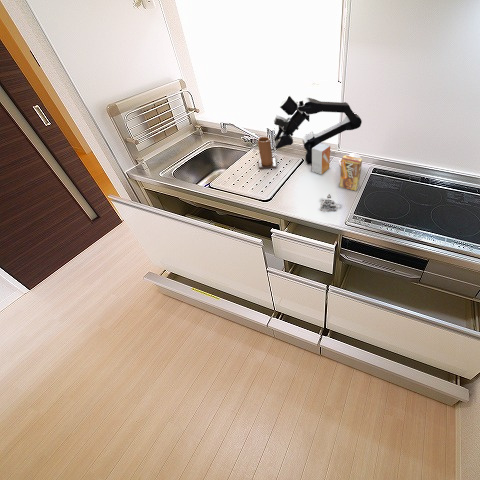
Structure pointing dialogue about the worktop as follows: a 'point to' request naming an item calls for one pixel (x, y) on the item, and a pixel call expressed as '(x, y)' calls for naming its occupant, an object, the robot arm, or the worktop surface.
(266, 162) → the brown hollow cylinder
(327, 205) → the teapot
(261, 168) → the holder
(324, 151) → the small box
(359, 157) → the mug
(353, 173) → the candy box
